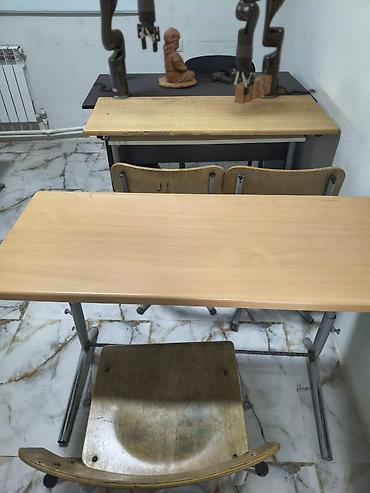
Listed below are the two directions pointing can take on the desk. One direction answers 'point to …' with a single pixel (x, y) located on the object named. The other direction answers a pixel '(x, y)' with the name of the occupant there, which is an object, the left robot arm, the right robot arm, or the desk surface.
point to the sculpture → (175, 63)
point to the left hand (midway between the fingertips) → (149, 50)
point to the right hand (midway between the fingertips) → (241, 93)
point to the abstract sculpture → (225, 74)
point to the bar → (253, 89)
